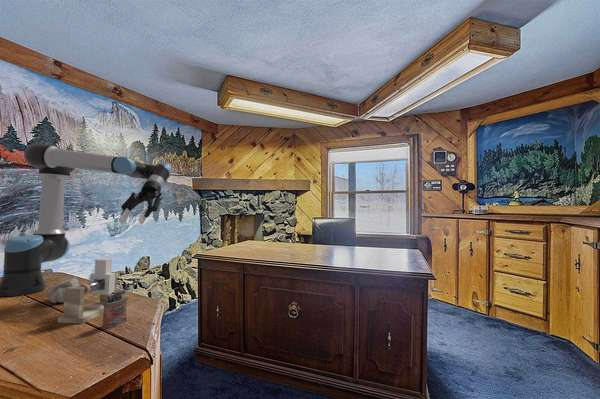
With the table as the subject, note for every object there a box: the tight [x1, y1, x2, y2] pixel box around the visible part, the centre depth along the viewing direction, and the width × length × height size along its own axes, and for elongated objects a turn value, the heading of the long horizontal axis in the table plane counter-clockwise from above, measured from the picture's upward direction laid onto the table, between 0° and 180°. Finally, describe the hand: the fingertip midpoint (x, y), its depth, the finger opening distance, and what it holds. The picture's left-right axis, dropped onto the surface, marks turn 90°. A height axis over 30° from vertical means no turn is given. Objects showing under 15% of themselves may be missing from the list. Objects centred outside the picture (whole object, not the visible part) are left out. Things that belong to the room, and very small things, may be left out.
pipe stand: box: [57, 276, 118, 324], centre depth 100 cm, size 18×8×11 cm, turn 178°
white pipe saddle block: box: [88, 258, 116, 295], centre depth 105 cm, size 3×7×12 cm, turn 88°
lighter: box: [101, 289, 128, 330], centre depth 91 cm, size 8×3×10 cm, turn 168°
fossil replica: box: [45, 277, 81, 304], centre depth 113 cm, size 12×8×10 cm
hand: (130, 221), depth 121 cm, fingers open, 8 cm apart
